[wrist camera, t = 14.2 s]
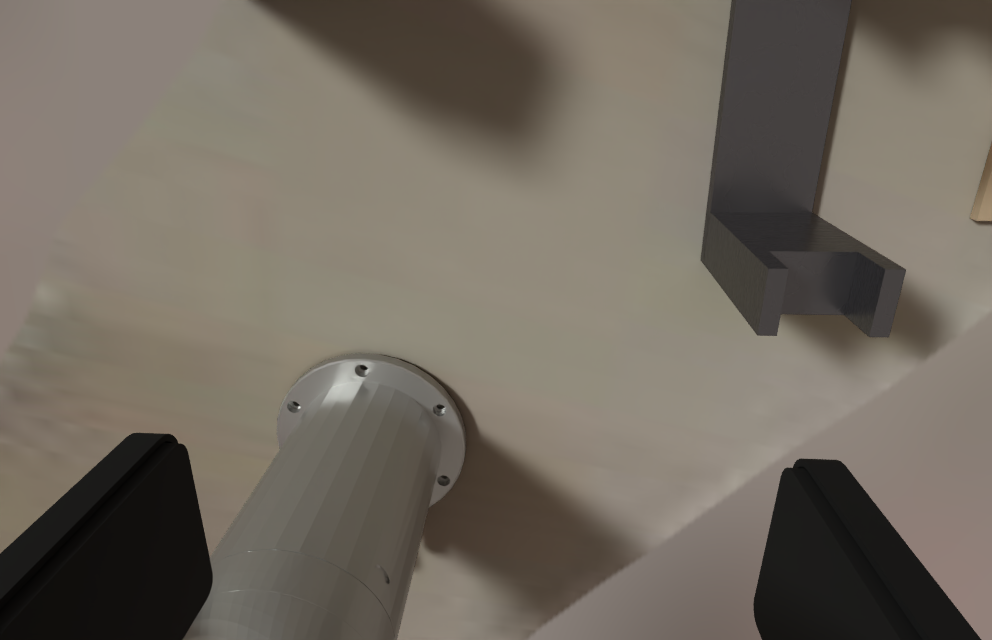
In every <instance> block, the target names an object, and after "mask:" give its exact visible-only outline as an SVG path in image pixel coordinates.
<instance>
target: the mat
mask: <svg viewBox="0 0 992 640" xmlns="http://www.w3.org/2000/svg"><path fill="white" fill-rule="evenodd" d="M970 218H971V219H973V220H976V221H992V143H991V147H990V150H989V154H988V157H987V161H986V164H985V168H984V171H983V175H982V178H981V181H980V185H979V188H978V192H977V195H976V199H975V202H974V206H973V209H972V213H971V216H970Z"/></svg>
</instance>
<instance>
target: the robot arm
mask: <svg viewBox="0 0 992 640" xmlns="http://www.w3.org/2000/svg"><path fill="white" fill-rule="evenodd" d="M363 365H365V366H366V367H364V366H363ZM439 404H440V405H443V406H440V405H439ZM277 439H278V444H279V449H280V450H279V452H278V453H277V455H276V456H275V458H274V460H273V461H272V463H271V464H270V466H269V467H268V469H267V470H266V472H265V473H264V475H263V476H262V478H261V480H260V481H259V483H258V484H257V486H256V487H255V489H254V490H253V492H252V493H251V495H250V497H249V498H248V500H247V501H246V503H245V504H244V506H243V507H242V509H241V510H240V512H239V513H238V515H237V517H236V518H235V520H234V521H233V523H232V524H231V526H230V527H229V529H228V530H227V532H226V533H225V535H224V537H223V538H222V540H221V541H220V543H219V544H218V546H217V547H216V549H215V550H214V552H213V554H212V555H211V557H210V558H209V553H208V548H207V543H206V538H205V533H204V528H203V523H202V519H201V514H200V509H199V504H198V499H197V494H196V489H195V484H194V480H193V475H192V470H191V465H190V460H189V455H188V451H187V448H186V447H185V446H184V445H183V444H178V441H177V439H176V438H175V437H174V436H173V435H171V434H154V433H133V434H131V435H129V436H128V437H126V438H125V439H124V440H123V441H122V442H121V443H120V444H119V445H118V446H117V447H116V448H114V449H113V450H112V451H111V452H110V453H109V454H108V455H107V456H106V457H105V458H104V459H103V460H101V461H100V462H99V463H98V464H97V465H96V466H95V467H94V468H93V469H92V470H91V471H90V472H88V473H87V474H86V475H85V476H84V477H83V478H82V479H81V480H80V481H79V482H78V483H77V484H75V485H74V486H73V487H72V488H71V489H70V490H69V491H68V492H67V493H66V494H65V495H64V496H62V497H61V498H60V499H59V500H58V501H57V502H56V503H55V504H54V505H53V506H52V507H50V508H49V509H48V510H47V511H46V512H45V513H44V514H43V515H42V516H41V517H40V518H39V519H37V520H36V521H35V522H34V523H33V524H32V525H31V526H30V527H29V528H28V529H27V530H26V531H24V532H23V533H22V534H21V535H20V536H19V537H18V538H17V539H16V540H15V541H14V542H13V543H11V544H10V545H9V546H8V547H7V548H6V549H5V550H4V551H3V552H2V553H1V554H0V640H397V637H398V633H399V629H400V624H401V620H402V616H403V612H404V608H405V604H406V600H407V596H408V591H409V587H410V583H411V579H412V575H413V571H414V567H415V562H416V558H417V554H418V550H419V546H420V542H421V538H422V534H423V529H424V525H425V521H426V517H427V513H428V509H429V508H430V507H431V506H432V505H434V504H435V503H437V502H438V501H439V500H441V499H442V498H443V497H444V496H445V495H446V494H447V493H448V492H449V491H450V490H451V489H452V487H453V486H454V484H455V482H456V480H457V479H458V477H459V475H460V472H461V469H462V466H463V463H464V458H465V452H466V431H465V427H464V423H463V420H462V416H461V414H460V412H459V410H458V408H457V406H456V404H455V402H454V401H453V399H452V398H451V397H450V395H449V394H448V393H447V392H446V390H445V389H444V388H443V387H442V386H441V385H440V384H439V383H438V382H437V381H436V380H434V379H433V378H432V377H431V376H430V375H428V374H427V373H425V372H423V371H422V370H420V369H419V368H417V367H416V366H414V365H411V364H409V363H407V362H404V361H402V360H399V359H397V358H393V357H388V356H384V355H380V354H367V353H356V354H347V355H340V356H337V357H334V358H331V359H328V360H325V361H323V362H321V363H319V364H317V365H316V366H314V367H312V368H310V369H309V370H308V371H307V372H306V373H304V374H303V375H302V376H301V377H300V378H299V379H298V380H297V381H296V383H295V384H294V385H293V386H292V388H291V389H290V390H289V392H288V393H287V395H286V397H285V398H284V400H283V402H282V404H281V407H280V411H279V414H278V418H277ZM754 617H755V622H756V625H757V628H758V630H759V633H760V635H761V638H762V640H981V639H980V637H979V636H978V635H977V634H976V632H975V631H974V630H973V628H972V627H971V626H970V625H969V623H968V622H967V621H966V620H965V618H964V617H963V616H962V614H961V613H960V612H959V611H958V609H957V608H956V607H955V605H954V604H953V603H952V602H951V600H950V599H949V598H948V596H947V595H946V594H945V593H944V591H943V590H942V589H941V588H940V586H939V585H938V584H937V582H936V581H935V580H934V579H933V577H932V576H931V575H930V573H929V572H928V571H927V570H926V568H925V567H924V566H923V564H922V563H921V562H920V561H919V559H918V558H917V557H916V556H915V554H914V553H913V552H912V550H911V549H910V548H909V547H908V545H907V544H906V543H905V541H904V540H903V539H902V538H901V537H900V535H899V534H898V532H897V531H896V530H895V529H894V527H893V526H892V525H891V524H890V522H889V521H888V520H887V519H886V517H885V516H884V515H883V514H882V512H881V511H880V510H879V508H878V507H877V506H876V504H875V503H874V502H873V501H872V499H871V498H870V497H869V495H868V494H867V493H866V492H865V490H864V489H863V488H862V486H861V485H860V484H859V483H858V482H857V480H856V479H855V478H854V477H853V475H852V474H851V472H850V471H849V470H848V469H847V467H846V466H845V465H844V464H843V463H842V462H841V461H838V460H823V459H822V460H821V459H799V460H797V461H796V462H795V464H794V466H793V468H785V469H784V471H783V472H782V475H781V479H780V483H779V488H778V492H777V497H776V502H775V507H774V511H773V515H772V520H771V525H770V529H769V534H768V538H767V543H766V548H765V552H764V556H763V561H762V566H761V570H760V575H759V579H758V584H757V588H756V593H755V597H754Z"/></svg>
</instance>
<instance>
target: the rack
mask: <svg viewBox="0 0 992 640" xmlns="http://www.w3.org/2000/svg"><path fill="white" fill-rule="evenodd" d="M851 1H852V0H732V3H731V11H730V20H729V28H728V36H727V45H726V53H725V61H724V70H723V78H722V86H721V95H720V103H719V111H718V120H717V128H716V136H715V145H714V153H713V161H712V170H711V178H710V186H709V195H708V203H707V211H706V220H705V228H704V236H703V245H702V253H701V261H702V263H703V264H704V265H705V267H706V268H707V269H708V271H709V272H710V273H711V275H712V276H713V277H714V279H715V280H716V281H717V282H718V284H719V285H720V286H721V288H722V289H723V290H724V292H725V293H726V294H727V296H728V297H729V298H730V300H731V301H732V302H733V304H734V305H735V306H736V308H737V309H738V310H739V312H740V313H741V314H742V316H743V317H744V318H745V320H746V321H747V322H748V324H749V325H750V326H751V327H752V329H753V330H754V331H755V333H756V334H757V335H760V336H777V332H778V326H779V320H780V315H781V314H810V315H845V316H846V317H847V318H848V319H849V320H850V321H852V322H853V323H854V324H855V325H856V326H857V327H858V328H859V329H861V330H862V331H863V332H864V333H865V334H866V335H867V336H869V337H889V335H890V331H891V327H892V323H893V319H894V315H895V311H896V307H897V304H898V300H899V296H900V292H901V288H902V284H903V280H904V276H905V272H906V269H904V268H903V267H901V266H899V265H898V264H896V263H894V262H893V261H891V260H889V259H888V258H886V257H885V256H883V255H881V254H880V253H878V252H876V251H875V250H873V249H871V248H870V247H868V246H866V245H865V244H863V243H861V242H860V241H858V240H856V239H855V238H853V237H852V236H850V235H848V234H847V233H845V232H843V231H842V230H840V229H838V228H837V227H835V226H833V225H832V224H830V223H828V222H827V221H825V220H823V219H822V218H820V217H819V216H817V215H815V214H814V213H812V209H813V204H814V198H815V193H816V188H817V182H818V177H819V172H820V166H821V161H822V156H823V150H824V145H825V140H826V134H827V129H828V124H829V118H830V113H831V108H832V102H833V97H834V92H835V86H836V81H837V76H838V70H839V65H840V60H841V54H842V49H843V44H844V38H845V33H846V28H847V22H848V17H849V12H850V6H851Z"/></svg>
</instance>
